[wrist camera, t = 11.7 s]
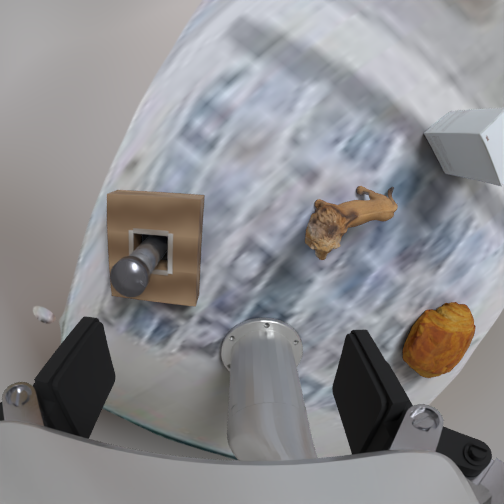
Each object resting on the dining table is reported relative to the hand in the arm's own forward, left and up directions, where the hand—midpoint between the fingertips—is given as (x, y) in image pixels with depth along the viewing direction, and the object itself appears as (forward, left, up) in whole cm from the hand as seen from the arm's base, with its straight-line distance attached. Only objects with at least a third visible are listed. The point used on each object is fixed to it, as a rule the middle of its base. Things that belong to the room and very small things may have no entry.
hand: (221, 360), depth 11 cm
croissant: (-18, -37, -30) cm, 51 cm away
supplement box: (+14, -30, -30) cm, 44 cm away
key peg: (-6, +10, -30) cm, 32 cm away
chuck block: (-6, +10, -30) cm, 32 cm away
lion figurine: (+1, -14, -30) cm, 33 cm away
